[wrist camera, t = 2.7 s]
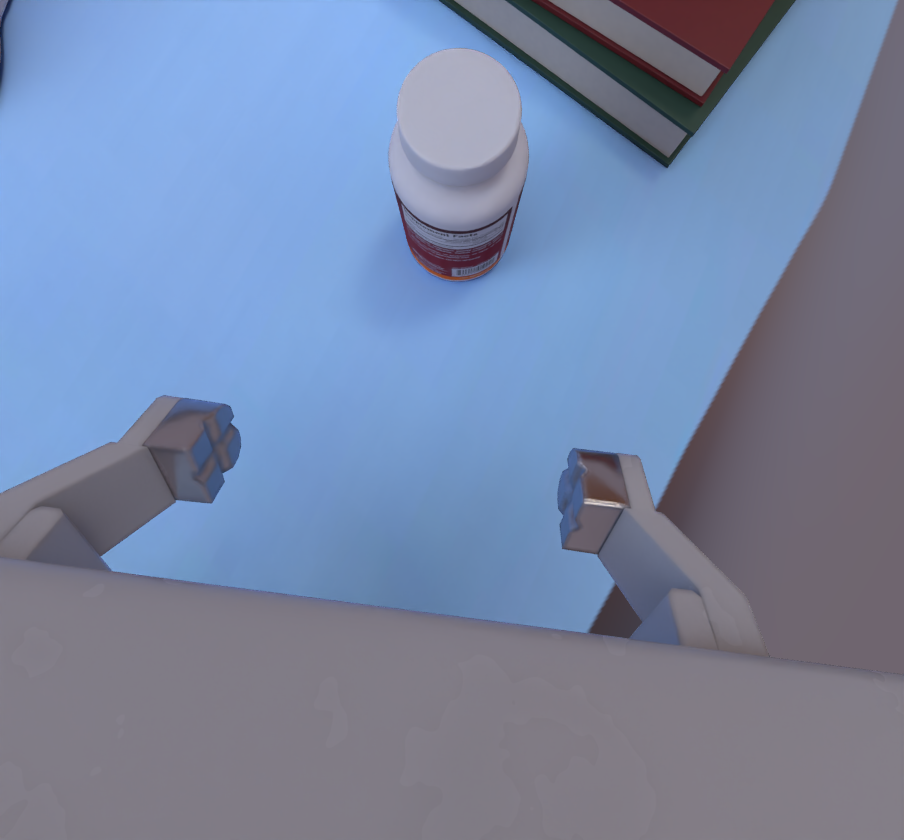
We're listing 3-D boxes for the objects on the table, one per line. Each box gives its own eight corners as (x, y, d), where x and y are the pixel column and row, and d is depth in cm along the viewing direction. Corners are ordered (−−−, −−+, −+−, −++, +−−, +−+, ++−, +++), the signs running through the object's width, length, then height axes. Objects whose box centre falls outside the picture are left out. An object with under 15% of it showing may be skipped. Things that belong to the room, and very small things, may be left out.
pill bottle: (439, 165, 28) (431, -7, 17) (527, 216, 28) (575, 75, 17) (387, 252, 28) (345, 135, 17) (475, 304, 28) (490, 219, 17)
